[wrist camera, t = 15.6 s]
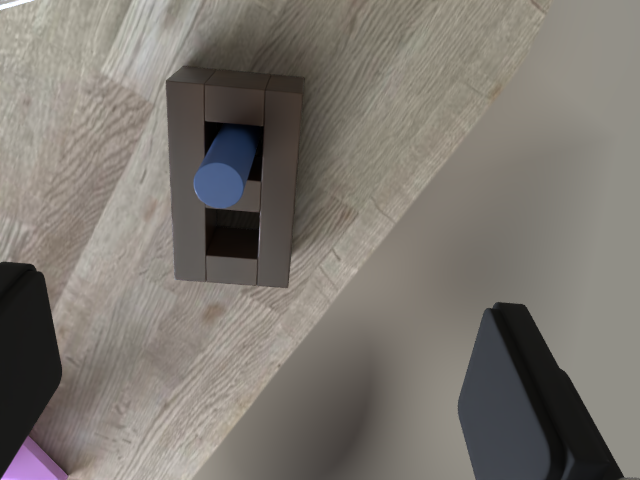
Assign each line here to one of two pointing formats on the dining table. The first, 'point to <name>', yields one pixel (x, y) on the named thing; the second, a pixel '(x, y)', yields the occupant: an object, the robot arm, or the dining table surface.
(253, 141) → the blue cylinder
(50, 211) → the dining table surface
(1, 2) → the bracket
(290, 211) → the holder
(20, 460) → the pink pedestal chair
